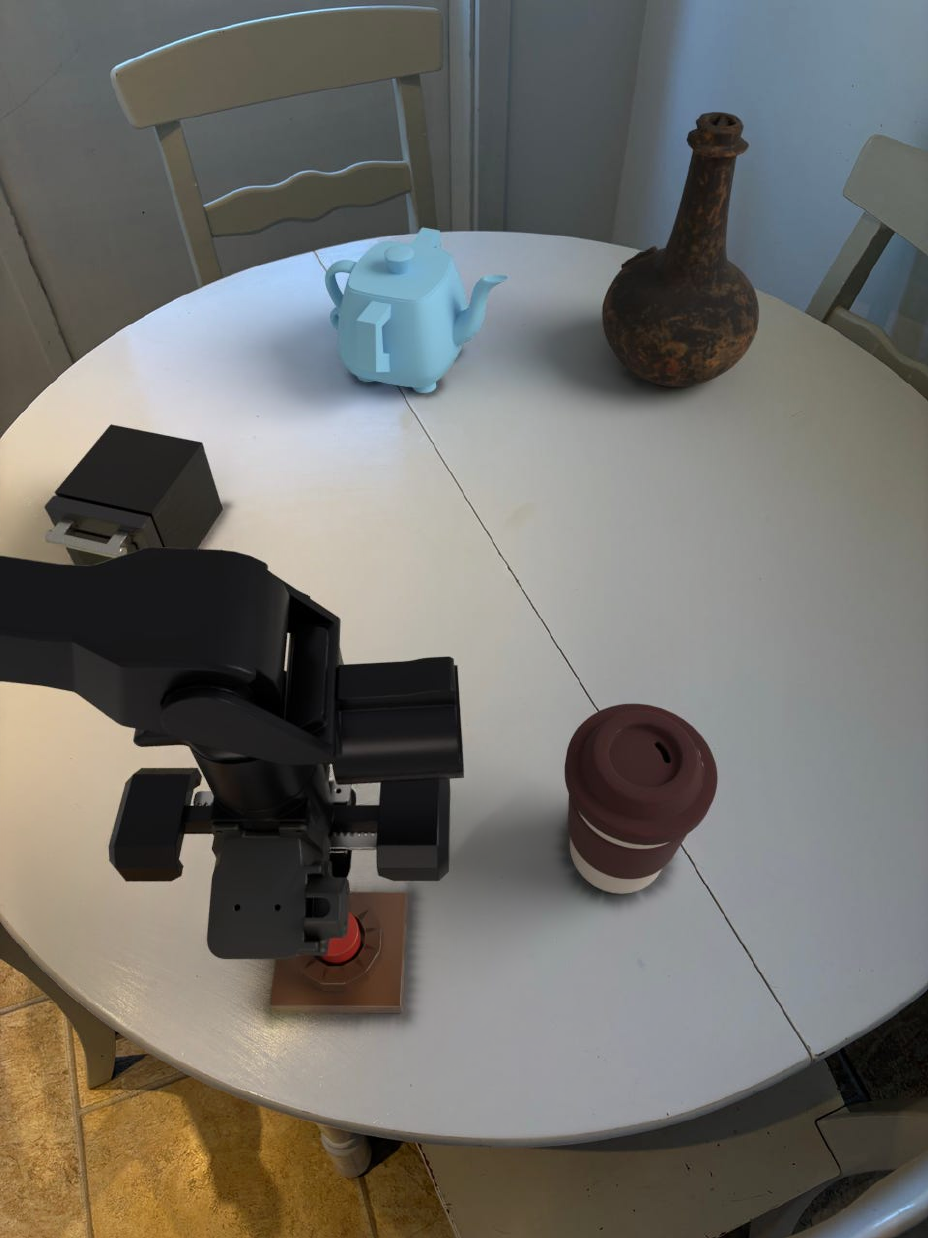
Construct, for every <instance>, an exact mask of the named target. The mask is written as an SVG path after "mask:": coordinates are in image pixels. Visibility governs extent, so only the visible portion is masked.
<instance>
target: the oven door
mask: <svg viewBox="0 0 928 1238" xmlns="http://www.w3.org/2000/svg"><path fill="white" fill-rule="evenodd" d="M43 509H45V512H46V513H47V515H48V517H49V520H50V521H51V523H52V524H53V526H54V528H53V529H48V530H47V531H46V532H45V534H44V541H45V542H46V543H48V544H51V545H55V546H60V547H64V548H65V549H66V552H67V554H68V555H69V557H70V559H71V561H72V562H73V565H95V564H98V563H101V562H104V561H107V560H110V559H113V558H116V557H119V556H122V555H125V554H128V553H131V552H134V551H137V550H140V549H143V548H147V547H163V546H162V544H161V542H160V539H159V537H158V534H157V532H156V529H155V527H154V524H153V522H152V519H151V517H150V516H145V515H141V514H136V513H132V512H127V511H123V510H118V509H113V508H109V507H104V506H100V505H95V504H90V503H86V502H81V501H77V500H72V499H68V498H63V497H58V496H56V495H52V496H51V498H50V499H49V500H48V501H47V503H46V504H45V505H44V508H43Z"/></svg>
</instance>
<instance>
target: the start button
mask: <svg viewBox="0 0 928 1238" xmlns="http://www.w3.org/2000/svg"><path fill="white" fill-rule="evenodd" d="M360 942H361V934H360V930H359V927H358V923H357V921H356V919H355V917H354V916H353V915H352V914H351V913H349V917H348V931H347V935H346V936H345V937H344V938H332V939H331V940H330V941H329V948H328V954H327V955H319V956H320V957H321V958H322V959H323V960H325V961H327V962H329V963H342V962H345V961H347V960H349V959H350V958H351V957H353V956H354V955H355V953H356V952H357V950H358V948H359V946H360Z"/></svg>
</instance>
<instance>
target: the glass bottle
mask: <svg viewBox="0 0 928 1238" xmlns="http://www.w3.org/2000/svg"><path fill="white" fill-rule="evenodd" d="M695 125H696V128H694V129H691V130H690V131H689V132H688V134H687V138H686V142H687V146H688V147H689V148H690V149H691V150H692V153H691V158H690V161H689V166H688V170H687V175H686V179H685V182H684V187H683V191H682V194H681V198H680V203H679V206H678V209H677V213H676V216H675V220H674V223H673V226H672V229H671V232H670V235H669V238H668V241H667V242H666V245H665V247H663V248H659V249H658V247H657V246H656V245H653V246H651V247H649V248H647V249H645V250H644V251H642V250H641V251H639V252H637V253H636V254H635V255H634V256H633V257H631V258H629V259H626V261H624V263H621V266H620V268H621V269H620V270H619V272H618V273H617V274H616V275H615V276H614V278H613V279H612V281H611V282H610V285H609V287H608V288H607V291H606V292H605V295H604V299H603V303H602V305H601V306H602V310H601V320H602V327H603V331H604V335H605V338H606V341H607V343H608V345H609V347H610V349H611V351H612V352H613V354H614V355H615V357H616V358H617V359H618V361H619V362H620V363H621V364H622V365H623V366H624V367H625V368H626V369H627V370H628V371H630V372H631V373H632V374H633V375H635V376H636V377H638V378H640V379H642V380H644V381H646V382H649V383H652V384H655V385H658V386H659V385H660V386H663V387H674V388H677V387H678V388H679V387H680V388H681V387H690V386H691V387H692V386H696V385H700V384H704V383H706V382H709V381H712V380H715V379H717V378H718V377H720V376H722V375H724V374H725V373H726V372H727V371H729V370H730V369H732V368H733V367H734V366H735V365H736V364H738V362H739V361H740V360H741V359H742V358H743V357H744V356H745V355H746V354H747V352H748V351H749V349H750V347H751V346H752V343H753V342H754V339H755V337H756V334H757V331H758V329H759V328H758V326H759V321H760V320H759V319H760V306H759V300H758V296H757V293H756V290H755V287H754V286H753V284H752V282H751V281H750V279H749V277H747V276H746V274H745V273H744V272H743V271H742V270H741V269H740V268H739V267H738V266H737V265H736V264H734V263H733V262H732V261H730V260H728V255H727V254H728V253H727V233H728V221H729V210H730V201H731V195H732V188H733V182H734V175H735V170H736V164H737V157H738V156H739V155H741V154H745V152H747V151H748V149H749V147H750V144H749V142H747V140H745V139H744V138H743V137H742V134H743V131H744V127H745V125H744V123H743V121H742V120H741V119H740V118H739V116H737V115H735V114H732V113H728V112H722V111H710V112H706V113H701V114H700V116H699V117H698V118H697V119H695Z"/></svg>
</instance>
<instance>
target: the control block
mask: <svg viewBox="0 0 928 1238" xmlns="http://www.w3.org/2000/svg"><path fill="white" fill-rule="evenodd" d="M408 903H409V900H408V895H407V892H399V891H398V892H396V891H395V892H394V891H393V892H390V891H389V892H388V891H387V892H382V891H381V892H380V891H379V892H378V891H377V892H376V891H375V892H373V891H368V892H363V891H362V892H361V891H357V892H356V891H355V892H352V891H349V913H351V914H352V915H353V916H354V917H355V919H356V921H357V923H358V927H359V930H360V934H361V942H360V946H359V948H358V950H357V952H356V953H355V955H354V956H353V957H351V958H350V959H349V960H347V961H345V962H342V963H329V962H327V961H325V960H323V959H322V958H321V957H320V956H319V955H300V956H296V957H292V958H288V959H274V960H275V961H274V968H273V974H272V982H271V991H270V998H269V1008H270V1009H271V1010H272V1012H273V1013H277V1014H278V1013H280V1014H281V1013H283V1014H285V1013H287V1014H294V1013H295V1014H403V1011H404V1009H403V1008H404V989H405V988H404V987H405V969H406V968H405V967H406V948H407V946H406V945H407V925H408V908H409V907H408V906H409V905H408Z"/></svg>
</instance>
